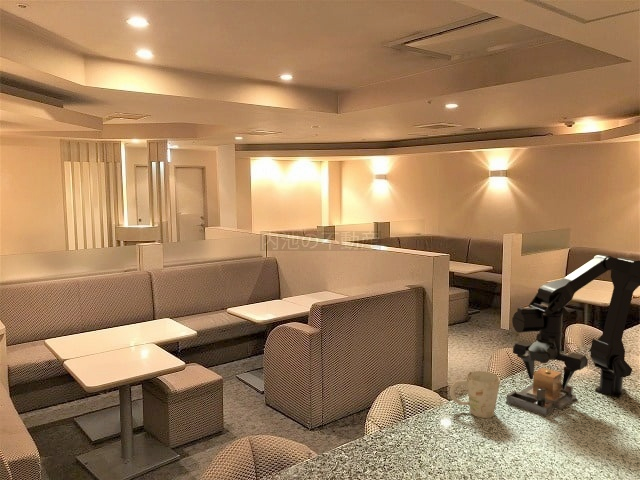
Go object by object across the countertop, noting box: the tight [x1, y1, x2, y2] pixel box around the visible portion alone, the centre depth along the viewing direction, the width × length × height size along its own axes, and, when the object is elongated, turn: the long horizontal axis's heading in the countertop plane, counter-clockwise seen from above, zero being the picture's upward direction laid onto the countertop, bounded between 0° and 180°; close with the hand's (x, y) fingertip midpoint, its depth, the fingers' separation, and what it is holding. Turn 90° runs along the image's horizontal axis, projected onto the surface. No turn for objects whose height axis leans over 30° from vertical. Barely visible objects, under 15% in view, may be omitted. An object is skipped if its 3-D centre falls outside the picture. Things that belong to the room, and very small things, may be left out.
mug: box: [449, 370, 501, 419], centre depth 132 cm, size 8×13×10 cm, turn 78°
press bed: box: [518, 382, 577, 411], centre depth 142 cm, size 11×12×3 cm
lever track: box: [505, 390, 554, 417], centre depth 136 cm, size 4×11×2 cm, turn 43°
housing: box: [532, 367, 563, 399], centre depth 142 cm, size 6×6×6 cm
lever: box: [534, 388, 547, 407], centre depth 133 cm, size 2×3×5 cm
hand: (547, 383), depth 142 cm, fingers open, 9 cm apart
